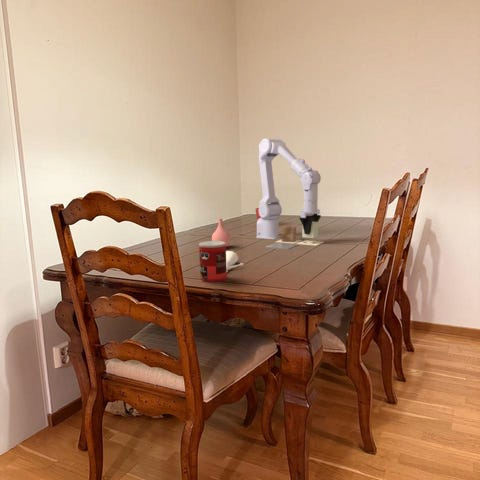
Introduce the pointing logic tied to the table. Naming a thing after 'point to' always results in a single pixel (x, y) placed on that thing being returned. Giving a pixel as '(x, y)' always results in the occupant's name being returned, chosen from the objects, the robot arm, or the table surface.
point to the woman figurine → (231, 260)
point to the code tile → (310, 242)
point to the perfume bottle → (221, 234)
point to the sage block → (313, 231)
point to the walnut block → (288, 234)
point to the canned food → (212, 261)
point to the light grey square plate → (282, 246)
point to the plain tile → (289, 242)
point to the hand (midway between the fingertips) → (310, 233)
